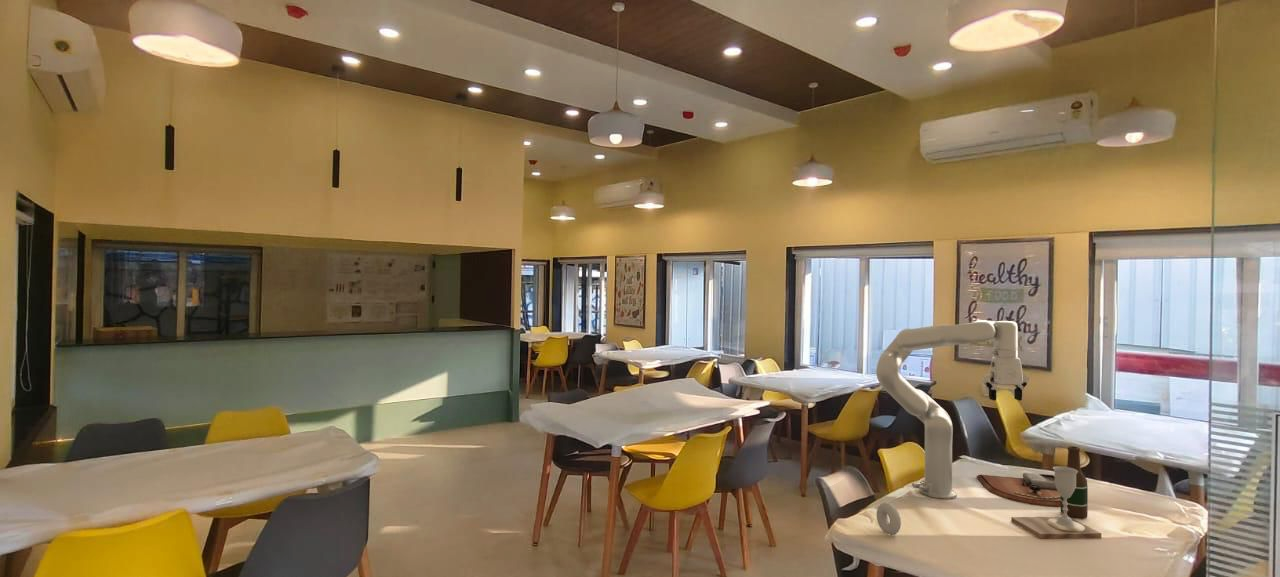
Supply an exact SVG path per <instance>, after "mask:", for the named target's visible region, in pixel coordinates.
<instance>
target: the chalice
mask: <svg viewBox="0 0 1280 577" xmlns="http://www.w3.org/2000/svg"><path fill="white" fill-rule="evenodd" d="M1052 469H1053V471H1054V476H1055V485H1056V488H1057V490H1058V492H1059V494H1060V496H1061V497H1063V499H1064V501H1063V503H1062V504H1063V506H1064V507H1063V508H1062V509H1063V512H1064V513H1063V514H1062V515H1059V516H1057V517H1058V519H1057V521H1056V523H1057V524H1058V525H1061V526H1065V527H1074V526H1075V525H1074V524H1073V521H1072V519H1073V518H1072V519H1071V518H1070V517H1068V515H1067V511H1068V509H1067V505H1068V503H1067V498H1070V497H1071V495H1072V494H1073V492H1074V490H1075V488H1076V474H1077V473H1078V471H1077V470H1076V469H1073V468H1069V467H1067V466H1061V465H1060V466H1059V465H1058V466H1053V467H1052Z"/></svg>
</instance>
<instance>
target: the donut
mask: <svg viewBox="0 0 1280 577" xmlns="http://www.w3.org/2000/svg"><path fill="white" fill-rule="evenodd" d="M875 516H876V521H877V524H878V526H879V528H880V529H881V531H882V532H883V533H885V534H886V533H887V534H886V535H888V534H890V535H889V536H895V535H896V534H898V533H899V532H900V530H901V527H902V520H901V516H900V512H899V510H898V509H897V507H896V506H895V505H893V503H890V502H885V501H884V502H882V503H880V504H879V505H878V507H877V509H876V515H875ZM888 518H889V519H888Z"/></svg>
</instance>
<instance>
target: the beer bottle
mask: <svg viewBox="0 0 1280 577" xmlns="http://www.w3.org/2000/svg"><path fill="white" fill-rule="evenodd" d="M1067 450H1068V451H1067V463H1066V467H1069V468H1073V469H1076V470H1077V471H1078V473H1077V474H1076V488H1075V490H1074V492H1073V494H1072V495H1071V497H1070V498H1067V503H1068V505H1067V509H1068V511H1067V515H1068V517H1070V518H1072V519H1074V520H1075V519H1076V520H1078V519H1079V520H1084V519H1085V520H1086V519H1087V518H1088V507H1089V506H1088V503H1089V502H1088V501H1089V499H1088V496H1089V494H1088V493H1089V492H1088V487H1089V486H1088V481H1087V477H1086V476H1085V474H1084V472H1082V468H1081V457H1080V456H1081V455H1080V454H1081V453H1080V452H1081V448H1080V447H1078V446H1075V445H1074V446H1071V445H1070V446H1067ZM1063 501H1064V499H1063V497H1061V496H1060V507H1059V508H1060V513H1061V514H1062V515H1063V513H1064V512H1063V509H1062V508H1063V507H1064V506H1063V504H1062V503H1063Z"/></svg>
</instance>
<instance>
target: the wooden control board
mask: <svg viewBox="0 0 1280 577" xmlns="http://www.w3.org/2000/svg"><path fill="white" fill-rule="evenodd" d="M976 479H977V480H978V481H979V483H980V484H981V485H982V486H983V487H984V488H985V489H986V490H987V491H989V492H990V493H992V494H993V495H995V496H998V497H1000V498H1003V499H1006V500H1010V501H1013V502H1017V503H1021V504H1027V505H1032V506H1040V507H1046V508H1047V507H1050V508H1060V494H1059V492H1058V490H1057V488H1056V485H1055V474H1046V473H1034V472H1023V474H1022V478H1021V477H1013V476H1012V477H1011V476H999V475H990V474H989V475H987V474H978V475H976Z"/></svg>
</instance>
